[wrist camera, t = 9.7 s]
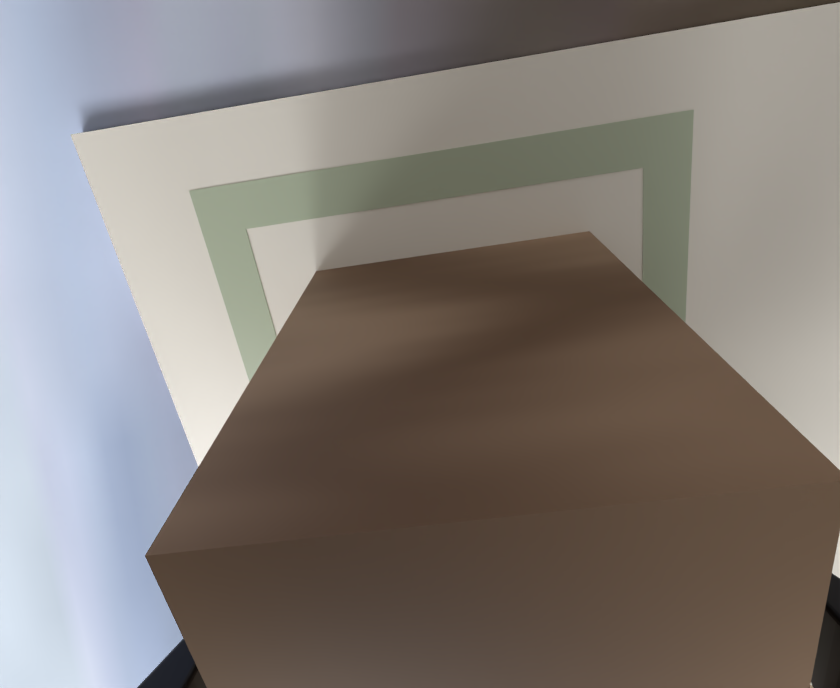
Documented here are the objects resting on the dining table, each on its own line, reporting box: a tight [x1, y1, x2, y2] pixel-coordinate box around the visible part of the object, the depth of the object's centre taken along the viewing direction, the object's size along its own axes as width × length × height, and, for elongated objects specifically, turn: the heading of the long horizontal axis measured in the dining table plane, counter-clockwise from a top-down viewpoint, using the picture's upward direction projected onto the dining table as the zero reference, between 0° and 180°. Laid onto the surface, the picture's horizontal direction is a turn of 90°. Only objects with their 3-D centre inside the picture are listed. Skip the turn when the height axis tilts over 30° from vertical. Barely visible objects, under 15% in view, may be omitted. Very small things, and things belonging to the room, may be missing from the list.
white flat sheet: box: [71, 2, 840, 685], centre depth 12 cm, size 24×16×1 cm, turn 99°
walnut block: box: [145, 231, 840, 688], centre depth 9 cm, size 5×10×7 cm, turn 9°
